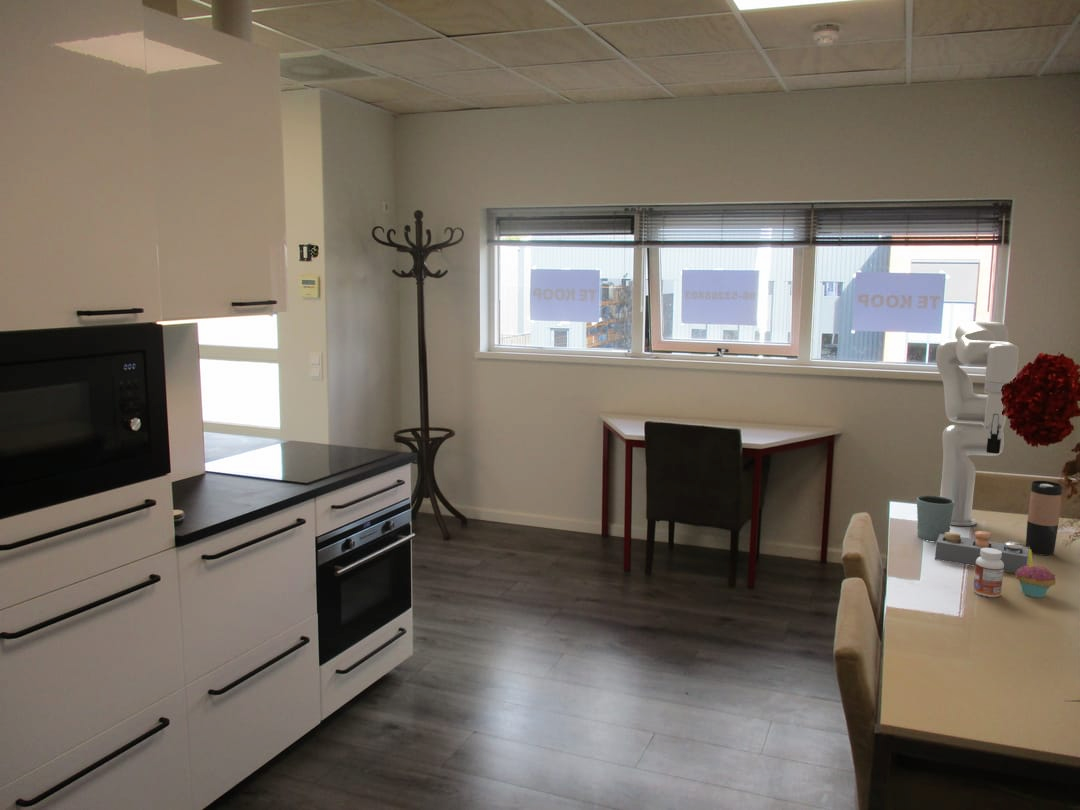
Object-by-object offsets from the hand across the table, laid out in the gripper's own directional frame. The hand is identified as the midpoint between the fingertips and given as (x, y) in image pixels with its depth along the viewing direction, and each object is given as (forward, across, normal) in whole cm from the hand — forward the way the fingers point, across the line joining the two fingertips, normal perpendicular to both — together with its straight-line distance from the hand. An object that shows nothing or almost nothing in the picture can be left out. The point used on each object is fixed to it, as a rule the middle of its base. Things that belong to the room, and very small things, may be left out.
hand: (992, 452), depth 236 cm
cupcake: (+29, +30, +13) cm, 44 cm away
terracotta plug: (+27, +10, 0) cm, 29 cm away
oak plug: (+28, +10, -7) cm, 31 cm away
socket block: (+29, +10, 0) cm, 31 cm away
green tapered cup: (+29, -6, -14) cm, 33 cm away
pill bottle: (+29, +36, +3) cm, 47 cm away
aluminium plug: (+29, +11, +8) cm, 31 cm away
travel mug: (+29, -10, +14) cm, 34 cm away
